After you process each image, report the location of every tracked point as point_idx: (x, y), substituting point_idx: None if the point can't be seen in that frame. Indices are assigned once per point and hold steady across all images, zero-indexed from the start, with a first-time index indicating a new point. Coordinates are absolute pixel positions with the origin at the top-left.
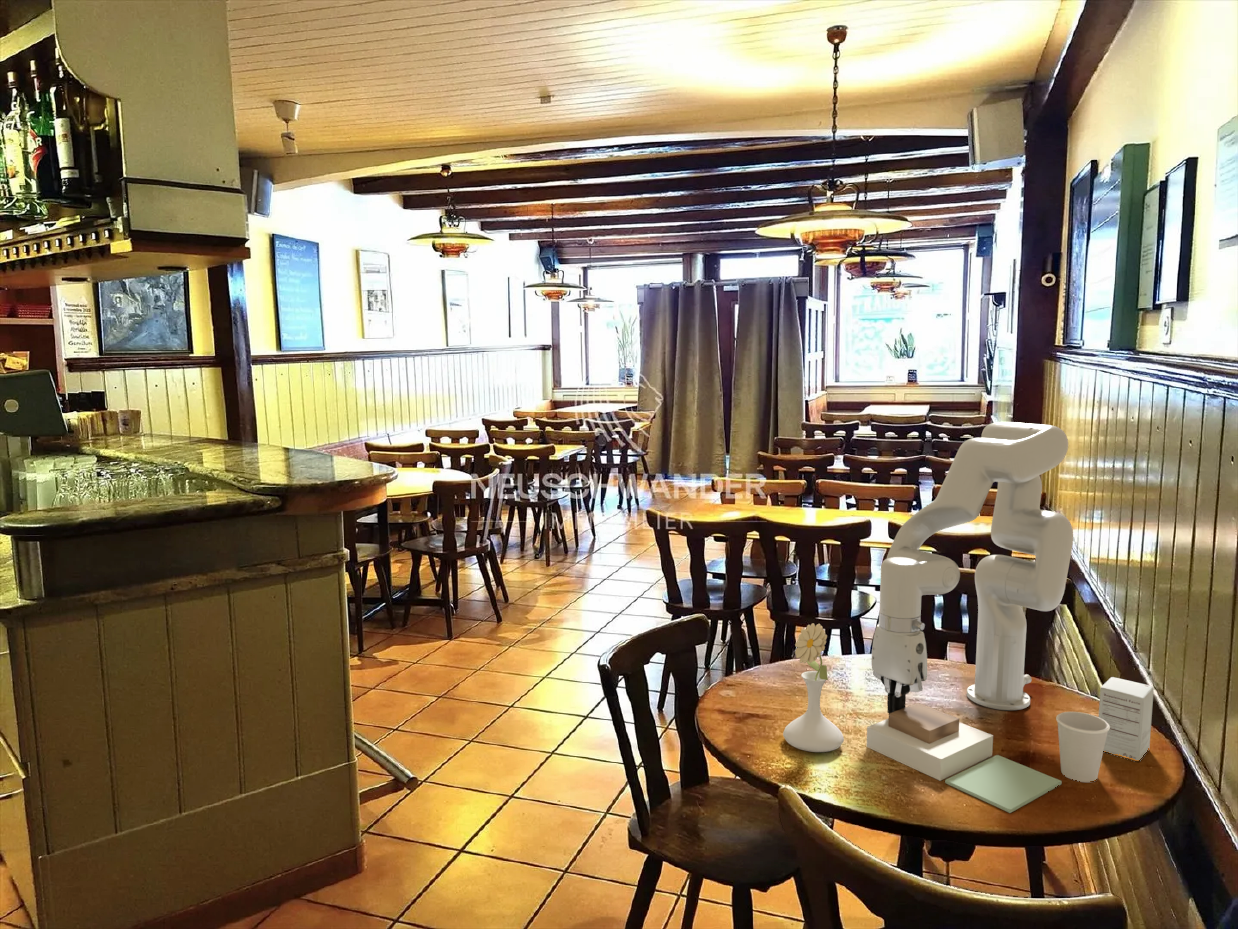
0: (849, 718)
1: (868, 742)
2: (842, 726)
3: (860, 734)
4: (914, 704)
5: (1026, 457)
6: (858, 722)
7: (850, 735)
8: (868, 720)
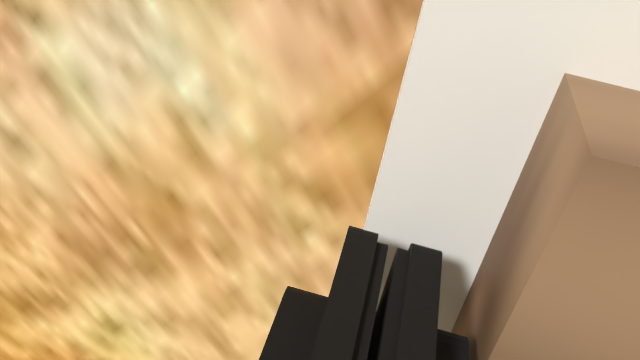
0: (3, 73)
1: None
2: (72, 209)
3: (211, 246)
4: (555, 252)
5: None
6: (84, 94)
7: (182, 285)
8: (100, 11)
